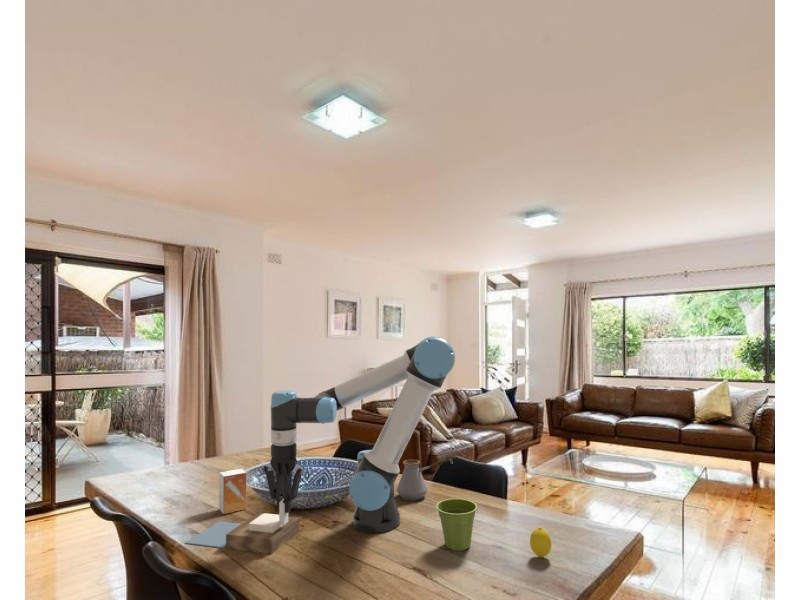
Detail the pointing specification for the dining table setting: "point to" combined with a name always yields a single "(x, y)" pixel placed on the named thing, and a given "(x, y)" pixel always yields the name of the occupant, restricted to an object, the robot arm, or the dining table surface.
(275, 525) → the ceramic tile
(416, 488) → the coffee pot
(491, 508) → the dining table surface
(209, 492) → the dining table surface
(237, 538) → the riser board
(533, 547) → the lemon
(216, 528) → the mat
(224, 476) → the small box
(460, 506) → the plant pot
